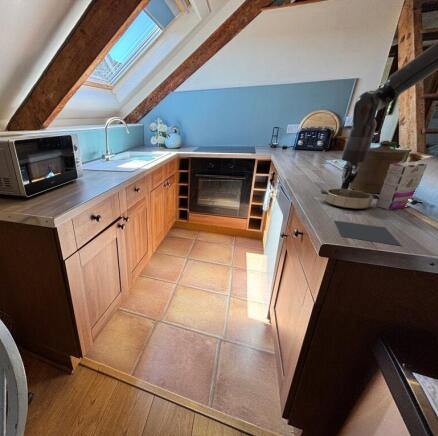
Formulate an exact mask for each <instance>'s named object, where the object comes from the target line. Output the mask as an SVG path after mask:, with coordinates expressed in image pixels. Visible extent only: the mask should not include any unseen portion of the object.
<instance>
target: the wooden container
mask: <svg viewBox="0 0 438 436" xmlns="http://www.w3.org/2000/svg"><path fill="white" fill-rule="evenodd" d="M391 142H392V141H390V140H381V141H380V142H379V145H378V146H379V147H377V148H371V147H370V149H369V152H368V155H367V158H366V161H364V162H358V167H359V168H358V171H356V172H358V174H357V176H356V177H355V179H354V180H353V182H352V183H350V185H349V189H350V190H353V189H354V190H356V191H362V192H365V193H366V192H367V193H368V194H375V193H376V194H375V195H378V194H377V193H380V192H381V189H382V186H383V183H384V180H385V177H386V174H387V172H388V169H389V166H390V164H395V163H403V159H404V158H405V155H406V153H407V150H404V149H397V148H395V149H391V148H390V146H389V145H390V143H391Z"/></svg>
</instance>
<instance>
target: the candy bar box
mask: <svg viewBox="0 0 438 436" xmlns="http://www.w3.org/2000/svg"><path fill="white" fill-rule="evenodd" d="M427 166H428V163H425V162H420V161H419V162H417V161H407V162H402V163H395V164H390V166H389V169H388V172H387V174H386V177H385V180H384V183H383V186H382V189H381V192H380V194H378V197H379V199H377V201H376V204H375V208H378V209H383V210H387V211H394V210H399V209H405V208H404V207H405V206H406V204H407V203H408V202H407V201H408V199H410V198H411V197H412V196H413V194H414V192H415V190H416V188H417V187H418V188H419V186H418V185H420V183H421V181H422V178H423V175H424V173H425V171H426V168H427ZM418 188H417V189H418Z"/></svg>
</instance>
